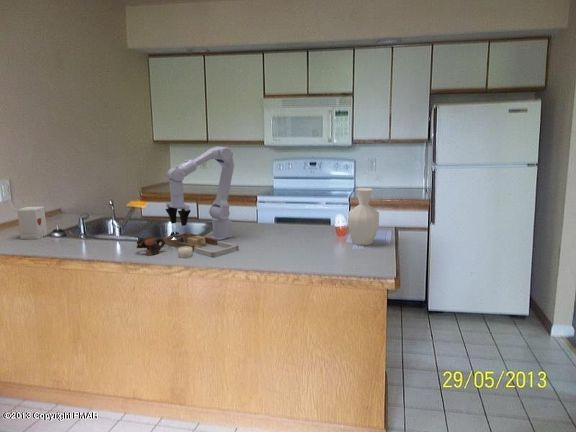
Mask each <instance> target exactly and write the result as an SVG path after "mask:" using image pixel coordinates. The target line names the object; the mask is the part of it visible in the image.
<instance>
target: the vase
mask: <svg viewBox="0 0 576 432" xmlns="http://www.w3.org/2000/svg"><path fill="white" fill-rule="evenodd" d="M355 192H356V196H357V200H358V203H359V204H358V205H356V206H355V207H353V208H352V209H351V210H349V211H348V213H347V225H348V229H349V230H348V231H349V234H350V239H351V241H352V242H353V244H354V245H358V246H370V245H372V244H373V242H374V240H375V239H376V237H377V233H378V230H379V226H380V225H379V224H380V212H379V211H377V210H376V209H375V208H373V207H372V205H370V200H371V197H372V192H373V188H368V187H367V188H365V187H363V188H361V187H358V188H356V189H355Z"/></svg>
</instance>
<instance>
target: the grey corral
mask: <svg viewBox="0 0 576 432" xmlns="http://www.w3.org/2000/svg"><path fill="white" fill-rule="evenodd" d="M217 246H218V247H220V248H221V249H219V250H215V251H212V250H210V249H209V250H208V249H204V248H202V247H199V248H198V247H196V248H194V252H195V253H196V254H199V255H203V256H205V257H207V256H208V257H210V258H216V257H219V256H223V255H226V254H230V253H233V252H236V251H237V252H238V251H239V245H237V244H235V243H234V244H233V243H229V242H225V241H221V240H218V241H217Z"/></svg>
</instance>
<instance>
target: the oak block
mask: <svg viewBox="0 0 576 432" xmlns="http://www.w3.org/2000/svg"><path fill="white" fill-rule="evenodd" d="M200 236H201V235H200ZM200 236H194V237H189V238H186V239H187V244H190V245H194V249H195V248H196V247H198V248H202V247H205V246H206V244H207V243H205V237H206V236H205V237H200Z"/></svg>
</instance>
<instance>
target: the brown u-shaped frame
mask: <svg viewBox="0 0 576 432" xmlns="http://www.w3.org/2000/svg"><path fill="white" fill-rule="evenodd" d="M176 236H181V237H182V238H183V239H182V240H184V239H187V238H189V237H194V236H200V237H205V244H209V245H214V246H218V240H217V239H213V238H209V237H210V236H205V235H199V234H196V233H191V232H187V231H185V232H182V233H178V234H174V235H170V236H169V235H168V236H165V237H161V238H162V239H164V241H165V245H167V246H169V247H170V246H171V247H174V248H177V249H178V248H179V247H183V246H190V247H192V251H193V252H195V248H194V245H190V244H188V243H186V242H182V241H180V240H177V241H175V240H171V239H172V238H173V237H176Z"/></svg>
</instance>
